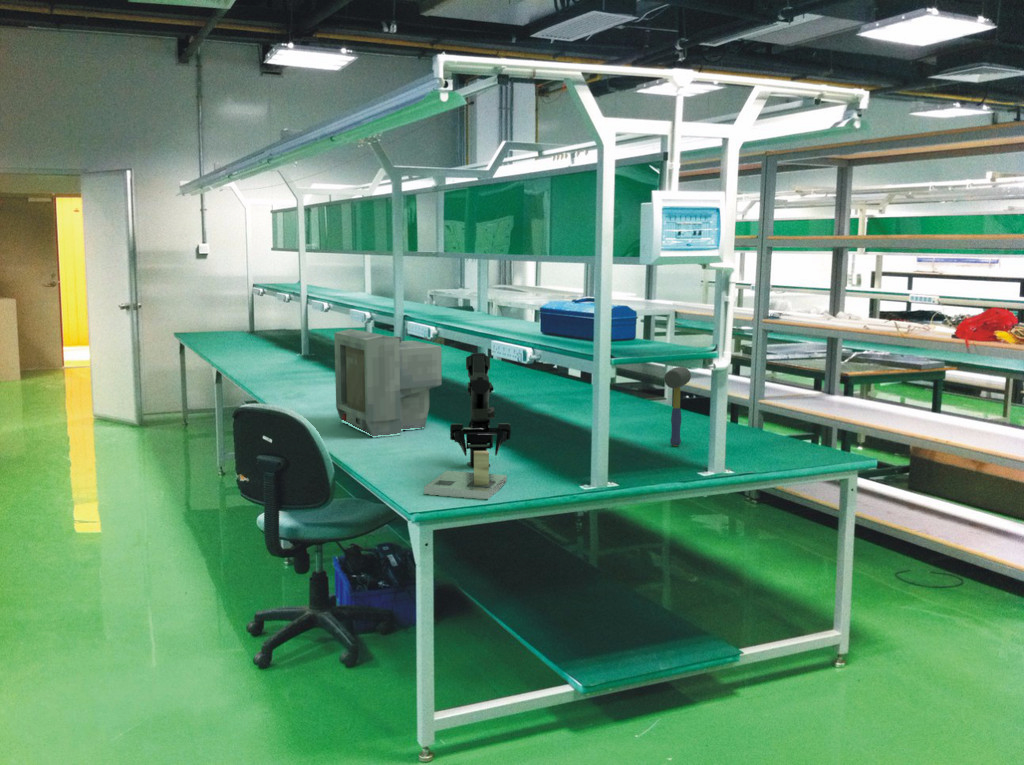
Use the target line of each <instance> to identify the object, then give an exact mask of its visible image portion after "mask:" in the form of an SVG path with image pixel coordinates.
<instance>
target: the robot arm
mask: <svg viewBox="0 0 1024 765" xmlns="http://www.w3.org/2000/svg"><path fill="white" fill-rule="evenodd" d="M490 369H491V357H490V356H488V355H486V353H484V352H473V353H471V354H470V355H468V356H466V357H465V370H466V371H467V377H468V378H469V382H467V394H469V397H470V422H469V424H468V427H464V424H463V423H451V424H450V426H449V430H450V431H449V435H450V436H449V439H450V440H451V441H454V442H455V443H458V445H459V446H460V448H461V450H462V453H463V454H464V456H465V457H467V454H468V453H467V450H470V451H469V455H470V456H469V457H470V458H469V461H467V462H466V464H467V465H468V466H469V465H470V466H469V467H471V468H473V469H474V451H488V450H489V449H490V450H491V449H493V447H494V445H493V444H494V435H496V441H495V450H494V454H495V455H494V456H496V457H497V456H498V453H499V450H500V449H501V447H502V444H503V443H505V442H507V440H510V439H511V434H512V428H511V427H512V426H511V424H510V423H509V422H504V423H503V422H502V423H499V422H498V423H497V427H490V425H491V419H495V416H496V414H495V413H496V412H495V409H496V408H495V407H492V406H491V407H490V403H489V400H490V394H492V392H494V385H493V384H492V381H491V382H490V377H489V375H488V374H489V371H490ZM465 435H466V438H465ZM489 467H491V464H490V463H489Z"/></svg>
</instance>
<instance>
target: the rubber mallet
mask: <svg viewBox="0 0 1024 765" xmlns="http://www.w3.org/2000/svg"><path fill="white" fill-rule="evenodd" d="M691 376H692V374H691V371H690V370H689V369H688V368H687V367H685V366H678V367H674V368H671V369H670V370H668V371H666V373H665V374H664V378H663V381H664V383H665V385H666V386H667V387H668V388H670V389H673V400H672V401H673V402H672V409H671V415H670V416H671V418H670V423H671V436H670V440H669V441H670V442H669V443H670V444H671V445H670V446H672V445H673V447H679V446H680V445H681V444H682V443H681V442H682V440H681V426H682V409H681V387H684V386H685V385H687V384H688V383H690V380H691ZM678 445H679V446H678Z"/></svg>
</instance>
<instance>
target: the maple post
mask: <svg viewBox="0 0 1024 765" xmlns="http://www.w3.org/2000/svg"><path fill="white" fill-rule="evenodd" d="M489 452H490V451H489V450H487V451H474V468H473V473H474V485H489V474H490V466H489V464H490V453H489Z"/></svg>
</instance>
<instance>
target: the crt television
mask: <svg viewBox="0 0 1024 765" xmlns="http://www.w3.org/2000/svg"><path fill="white" fill-rule="evenodd" d="M333 336H334V337H333V338H334V369H335V370H334V372H335V374H334V375H335V376H334V378H335V408H336V410H337V414H338V417H339V418H340V419H341V420H344V421H346V422H348V423H350V424H352V425H353V426H355V427H357V428H359V429H361V430H363V431H365V432H367V433H369V434H370V435H372V436H378V435H390V434H397V433H402V432H401V429H410V428H422V427H426V423H427V418H428V416H429V415H428V414H429V410H430V389H433V388H436V387H440V386H442V383H443V382H442V381H443V380H442V379H443V378H442V377H443V376H442V373H443V372H442V371H443V370H442V346H441V345H436V344H431V343H426V342H421V341H418V340H417V341H416V340H402V336H390V335H385V334H380V333H375V332H374V333H373V332H370V331H365V330H359V329H358V330H357V329H353V328H349V329H344V330H340V331H336V332H334V334H333ZM341 420H340V421H341Z"/></svg>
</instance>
